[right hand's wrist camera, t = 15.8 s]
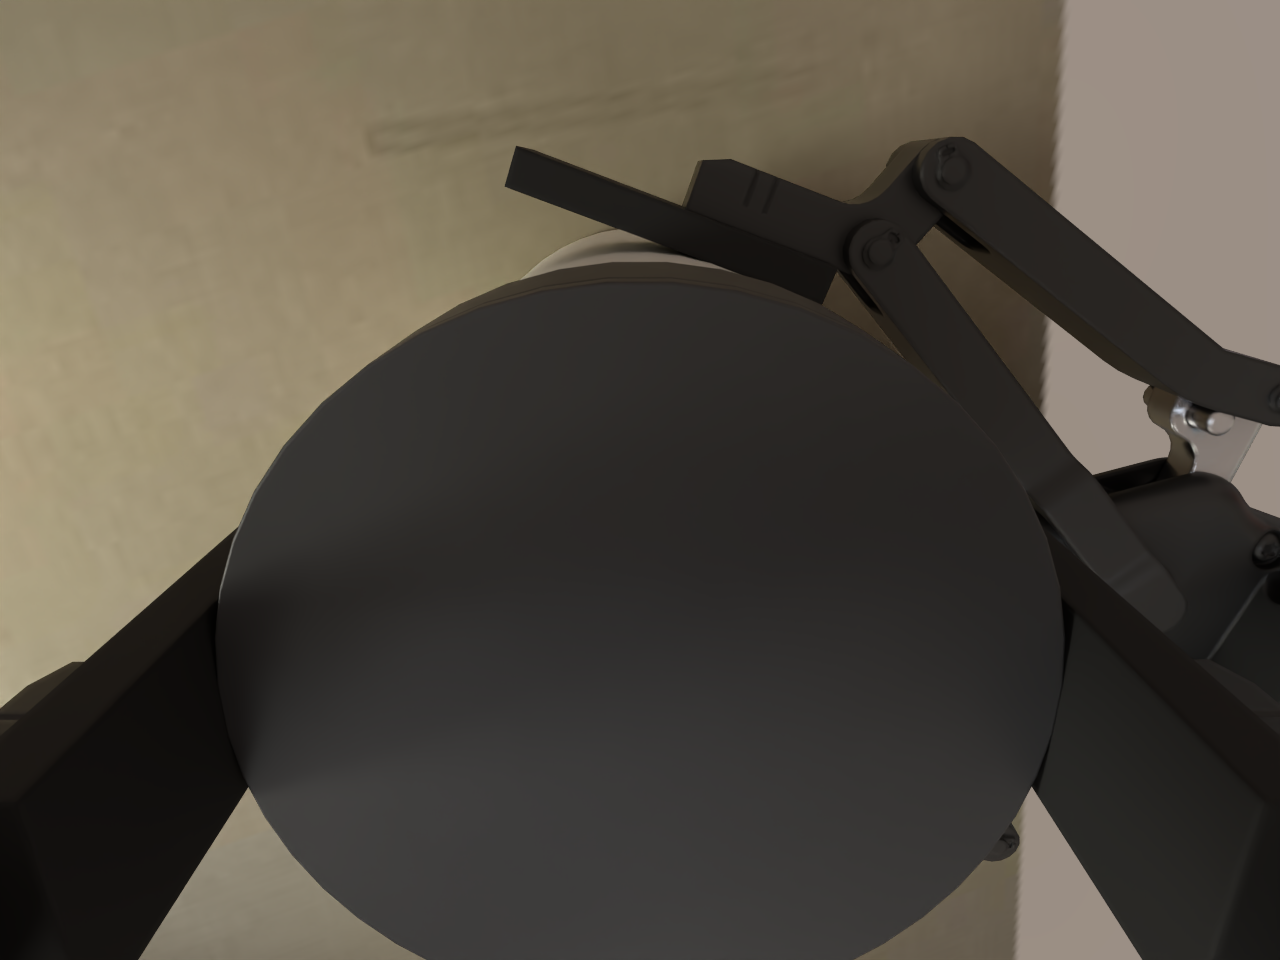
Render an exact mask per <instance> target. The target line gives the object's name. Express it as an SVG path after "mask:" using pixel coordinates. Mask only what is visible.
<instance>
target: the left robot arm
mask: <svg viewBox="0 0 1280 960" xmlns="http://www.w3.org/2000/svg"><path fill="white" fill-rule="evenodd" d="M505 187H507V188H510V189H513V190H515V191H518V192H521V193H523V194H526V195H529V196H531V197H534V198H537V199H539V200H542V201H545V202H547V203H550V204H553V205H556V206H558V207H561V208H564V209H566V210H569V211H572V212H574V213H577V214H580V215H582V216H585V217H588V218H590V219H593V220H596V221H598V222H601V223H604V224H606V225H609V226H612V227H615V228H617V229H620V230H623V231H625V232H628V233H631V234H633V235H636V236H639V237H641V238H644V239H647V240H649V241H652V242H655V243H657V244H660V245H663V246H666V247H668V248H671V249H674V250H676V251H679V252H682V253H684V254H687V255H690V256H692V257H695V258H698V259H700V260H703V261H706V262H708V263H711V264H714V265H717V266H719V267H722V268H725V269H727V270H730V271H733V272H735V273H738V274H741V275H744V276H747V277H751V278H754V279H758V280H762V281H765V282H769V283H772V284H775V285H777V286H779V287H782V288H784V289H786V290H788V291H791V292H793V293H795V294H798V295H800V296H802V297H805V298H807V299H809V300H812V301H814V302H816V303H819V304H821V305H822V303H823V301H824V299H825V296H826V294H827V292H828V289H829V287H830V285H831V283H832V280H833V278H834V276H835V273H836V271H837V272H838V274H839V275H840V276H841V277H842V279H843V280H844V281H845V283H846V284H847V285H848V286H849V288H850V289H851V290H852V291H853V293H854V294H855V295H856V297H857V298H858V299H859V300H860V302H861V303H862V304H863V305H864V307H865V308H866V309H867V311H868V312H869V313H870V314H871V316H872V317H873V318H874V319H875V321H876V322H877V323H878V325H879V326H880V327H881V328H882V330H883V331H884V332H885V333H886V335H887V336H888V337H889V339H890V340H891V341H892V342H893V344H894V345H895V346H896V347H897V349H898V350H899V351H900V353H901V354H902V355H903V356H904V358H905V359H906V360H907V361H908V362H909V363H911V364H912V365H913V366H914V367H916V368H917V369H918V370H919V371H920V372H922V373H923V374H924V375H925V376H927V377H928V378H929V379H930V380H931V381H933V382H934V383H935V384H936V385H937V386H939V387H940V388H941V389H942V390H943V391H945V392H946V393H947V394H948V395H949V396H951V397H952V398H953V399H954V400H955V401H957V402H958V403H959V404H960V405H961V407H962V408H963V409H964V410H965V411H966V412H967V413H968V414H969V415H970V417H971V418H972V419H973V420H974V421H975V422H976V423H977V424H978V426H979V427H980V428H981V429H982V430H983V431H984V432H985V433H986V435H987V436H988V437H989V438H990V439H991V440H992V441H993V442H994V443H995V445H996V446H997V448H998V449H999V451H1000V452H1001V454H1002V455H1003V457H1004V458H1005V460H1006V461H1007V463H1008V464H1009V466H1010V468H1011V469H1012V471H1013V472H1014V474H1015V475H1016V477H1017V478H1018V480H1019V481H1020V483H1021V484H1022V486H1023V488H1024V489H1025V491H1026V493H1027V495H1028V497H1029V499H1030V502H1031V504H1032V506H1033V508H1034V511H1035V513H1036V515H1037V517H1038V520H1039V522H1040V524H1041V526H1042V527H1043V528H1044V529H1045V530H1047V531H1048V532H1049V533H1050V534H1051V535H1052V536H1053V537H1054V538H1056V539H1057V540H1058V541H1059V542H1060V543H1061V544H1062V545H1064V546H1065V547H1066V548H1067V549H1068V550H1069V551H1070V552H1072V553H1073V554H1074V555H1075V556H1076V557H1077V558H1078V559H1080V560H1081V561H1082V562H1083V563H1084V564H1085V565H1086V566H1088V567H1089V568H1090V569H1091V570H1092V571H1093V572H1094V573H1095V574H1097V575H1098V576H1099V577H1100V578H1101V579H1102V580H1103V581H1105V582H1106V583H1107V584H1108V585H1109V586H1110V587H1111V588H1113V589H1114V590H1115V591H1116V592H1117V593H1118V594H1119V595H1121V596H1122V597H1123V598H1124V599H1125V600H1126V601H1127V602H1128V603H1130V604H1131V605H1132V606H1133V607H1134V608H1135V609H1136V610H1138V611H1139V612H1140V613H1141V614H1142V615H1143V616H1144V617H1146V618H1147V619H1148V620H1149V621H1150V622H1151V623H1152V624H1154V625H1155V626H1156V627H1157V628H1158V629H1159V630H1160V631H1161V632H1163V633H1164V634H1165V635H1166V636H1167V637H1168V638H1169V639H1171V640H1172V641H1173V642H1174V643H1175V644H1176V645H1177V646H1179V647H1180V648H1181V649H1182V650H1183V651H1184V652H1185V653H1187V654H1188V655H1189V656H1190V657H1191V658H1192V659H1210V660H1211V661H1213V662H1215V663H1217V664H1219V665H1221V666H1223V667H1225V668H1227V669H1228V670H1230V671H1232V672H1234V673H1236V674H1238V675H1240V676H1242V677H1244V678H1246V679H1247V680H1249V681H1251V682H1253V683H1255V684H1256V685H1257V686H1258V687H1260V688H1261V689H1262V690H1263V691H1264V692H1266V693H1267V694H1268V695H1269V696H1270V697H1272V698H1273V699H1274V700H1275V701H1276V702H1278V703H1279V704H1280V518H1278V517H1275V516H1273V515H1270V514H1267V513H1264V512H1262V511H1259V510H1256V509H1253V508H1251V507H1249V506H1248V504H1247V503H1246V502H1245V500H1244V499H1243V497H1242V495H1241V494H1240V492H1239V491H1238V489H1237V488H1236V487H1235V486H1234V485H1233V484H1231V481H1232V479H1233V477H1234V475H1235V473H1236V472H1237V470H1238V468H1239V466H1240V464H1241V462H1242V461H1243V459H1244V457H1245V455H1246V453H1247V451H1248V450H1249V448H1250V446H1251V444H1252V442H1253V440H1254V439H1255V437H1256V435H1257V433H1258V431H1259V429H1260V428H1261V426H1262V424H1265V425H1268V426H1280V365H1277V364H1274V363H1271V362H1267V361H1264V360H1260V359H1257V358H1254V357H1250V356H1247V355H1243V354H1240V353H1237V352H1234V351H1230V350H1227V349H1224V348H1222V347H1221V346H1220V345H1218V344H1217V343H1216V342H1215V341H1214V340H1212V339H1211V338H1210V337H1209V336H1208V335H1206V334H1205V333H1204V332H1203V331H1202V330H1200V329H1199V328H1198V327H1197V326H1195V325H1194V324H1193V323H1192V322H1191V321H1189V320H1188V319H1187V318H1186V317H1185V316H1183V315H1182V314H1181V313H1180V312H1179V311H1177V310H1176V309H1175V308H1174V307H1172V306H1171V305H1170V304H1169V303H1168V302H1166V301H1165V300H1164V299H1163V298H1162V297H1160V296H1159V295H1158V294H1157V293H1156V292H1154V291H1153V290H1152V289H1151V288H1150V287H1148V286H1147V285H1146V284H1145V283H1143V282H1142V281H1141V280H1140V279H1139V278H1137V277H1136V276H1135V275H1134V274H1133V273H1131V272H1130V271H1129V270H1128V269H1127V268H1125V267H1124V266H1123V265H1122V264H1121V263H1119V262H1118V261H1117V260H1116V259H1115V258H1113V257H1112V256H1111V255H1110V254H1108V253H1107V252H1106V251H1105V250H1104V249H1102V248H1101V247H1100V246H1099V245H1098V244H1096V243H1095V242H1094V241H1093V240H1091V239H1090V238H1089V237H1088V236H1087V235H1086V234H1084V233H1083V232H1082V231H1081V230H1079V229H1078V228H1077V227H1076V226H1075V225H1073V224H1072V223H1071V222H1070V221H1069V220H1067V219H1066V218H1065V217H1064V216H1063V215H1061V214H1060V213H1059V212H1058V211H1057V210H1055V209H1054V208H1053V207H1052V206H1050V205H1049V204H1048V203H1047V202H1046V201H1044V200H1043V199H1042V198H1041V197H1040V196H1038V195H1037V194H1036V193H1035V192H1034V191H1032V190H1031V189H1030V188H1029V187H1028V186H1026V185H1025V184H1024V183H1023V182H1021V181H1020V180H1019V179H1018V178H1017V177H1015V176H1014V175H1013V174H1012V173H1011V172H1009V171H1008V170H1007V169H1006V168H1005V167H1003V166H1002V165H1001V164H1000V163H999V162H997V161H996V160H995V159H994V158H992V157H991V156H990V155H989V154H988V153H986V152H985V151H984V150H983V149H982V148H980V147H979V146H978V145H977V144H976V143H974V142H972V141H970V140H968V139H966V138H964V137H946V138H938V139H929V140H921V141H912V142H909V143H906V144H904V145H902V146H900V147H899V148H898V149H897V150H896V151H895V152H893V153H892V155H891V157H890V159H889V161H888V163H887V165H886V168H885V170H884V171H883V172H882V173H881V174H880V175H879V176H878V178H877V179H876V180H875V181H874V182H873V183H872V184H871V186H870V187H869V188H868V189H867V190H866V191H865V192H863V193H862V194H861V195H860V196H858V197H856V198H854V199H852V200H848V201H845V202H839V201H837V200H834V199H832V198H829V197H827V196H824V195H822V194H819V193H816V192H814V191H811V190H809V189H806V188H804V187H801V186H798V185H796V184H793V183H791V182H788V181H786V180H783V179H780V178H778V177H775V176H773V175H770V174H768V173H765V172H763V171H760V170H757V169H755V168H752V167H750V166H747V165H745V164H742V163H739V162H737V161H734V160H732V159H722V160H702V161H698V163H697V166H696V169H695V171H694V174H693V177H692V180H691V183H690V185H689V188H688V191H687V194H686V197H685V199H684V202H683V205H682V206H680V205H677V204H675V203H672V202H670V201H667V200H664V199H662V198H659V197H656V196H654V195H651V194H649V193H646V192H643V191H641V190H638V189H635V188H633V187H630V186H627V185H625V184H622V183H620V182H617V181H614V180H612V179H609V178H606V177H604V176H601V175H599V174H596V173H593V172H591V171H588V170H585V169H583V168H580V167H577V166H575V165H572V164H570V163H567V162H564V161H562V160H559V159H556V158H554V157H551V156H548V155H546V154H543V153H541V152H538V151H535V150H532V149H528V148H523V147H519V146H516V148H515V152H514V155H513V159H512V162H511V166H510V169H509V173H508V176H507V180H506V183H505ZM933 226H934V227H935V228H936V229H938V230H939V231H940V232H941V233H943V234H944V235H945V236H946V237H948V238H949V239H950V240H952V241H953V242H954V243H955V244H957V245H958V246H959V247H960V248H962V249H963V250H964V251H965V252H967V253H968V254H969V255H971V256H972V257H973V258H974V259H976V260H977V261H978V262H979V263H981V264H982V265H983V266H984V267H986V268H987V269H988V270H990V271H991V272H992V273H993V274H995V275H996V276H997V277H998V278H1000V279H1001V280H1002V281H1003V282H1005V283H1006V284H1007V285H1008V286H1010V287H1011V288H1012V289H1014V290H1015V291H1016V292H1017V293H1019V294H1020V295H1021V296H1022V297H1024V298H1025V299H1026V300H1027V301H1029V302H1030V303H1031V304H1033V305H1034V306H1035V307H1036V308H1038V309H1039V310H1040V311H1041V312H1043V313H1044V314H1045V315H1046V316H1048V317H1049V318H1050V319H1052V320H1053V321H1054V322H1055V323H1057V324H1058V325H1059V326H1060V327H1062V328H1063V329H1064V330H1065V331H1067V332H1068V333H1069V334H1071V335H1072V336H1073V337H1074V338H1076V339H1077V340H1078V341H1079V342H1081V343H1082V344H1083V345H1084V346H1086V347H1087V348H1088V349H1090V350H1091V351H1092V352H1093V353H1095V354H1096V355H1097V356H1098V357H1100V358H1101V359H1102V360H1103V361H1105V362H1106V363H1108V364H1109V365H1111V366H1112V367H1114V368H1115V369H1117V370H1118V371H1120V372H1122V373H1124V374H1126V375H1128V376H1130V377H1132V378H1134V379H1137V380H1139V381H1142V382H1144V383H1146V384H1149V385H1150V386H1149V387H1148V388H1147V389H1146V390H1145V392H1144V395H1143V399H1144V403H1145V404H1146V405H1147V412H1148V415H1149V418H1150V419H1151V420H1152V422H1153V423H1155V424H1156V425H1158V426H1159V427H1161V428H1162V429H1164V430H1165V431H1166V432H1167V434H1168V435H1169V438H1170V441H1171V449H1170V452H1169V455H1168V457H1165V458H1157V459H1153V460H1149V461H1145V462H1141V463H1137V464H1133V465H1129V466H1126V467H1122V468H1118V469H1114V470H1110V471H1106V472H1103V473H1099V474H1095V475H1092V474H1091V473H1090V472H1089V471H1088V470H1087V469H1086V468H1085V467H1084V466H1083V465H1082V464H1081V463H1080V462H1079V461H1078V460H1077V459H1076V458H1075V457H1074V456H1073V455H1072V454H1071V453H1070V451H1069V450H1068V449H1067V447H1066V446H1065V445H1064V443H1063V442H1062V441H1061V439H1060V438H1059V437H1058V435H1057V434H1056V433H1055V431H1054V430H1053V429H1052V427H1051V426H1050V425H1049V423H1048V422H1047V420H1046V419H1045V418H1044V416H1043V415H1042V414H1041V412H1040V411H1039V410H1038V408H1037V407H1036V406H1035V404H1034V403H1033V402H1032V400H1031V399H1030V398H1029V396H1028V395H1027V394H1026V392H1025V391H1024V390H1023V388H1022V387H1021V386H1020V384H1019V383H1018V381H1017V380H1016V379H1015V377H1014V376H1013V375H1012V373H1011V372H1010V371H1009V369H1008V368H1007V367H1006V365H1005V364H1004V363H1003V361H1002V360H1001V359H1000V357H999V356H998V355H997V353H996V352H995V351H994V349H993V348H992V347H991V345H990V344H989V343H988V341H987V340H986V339H985V337H984V336H983V335H982V333H981V332H980V330H979V329H978V328H977V326H976V325H975V324H974V322H973V321H972V320H971V318H970V317H969V316H968V314H967V313H966V312H965V310H964V309H963V308H962V306H961V305H960V304H959V302H958V301H957V300H956V298H955V297H954V296H953V294H952V293H951V292H950V290H949V289H948V288H947V286H946V285H945V283H944V282H943V281H942V279H941V278H940V277H939V275H938V274H937V273H936V271H935V270H934V269H933V267H932V266H931V265H930V263H929V262H928V261H927V259H926V258H925V257H924V255H923V254H922V253H921V251H920V250H919V249H918V247H917V246H916V245H917V243H918V242H919V241H920V240H921V239H922V238H923V237H924V236H925V235H926V234H927V233H928V231H929V230H930V229H931V228H932V227H933ZM1018 846H1019V835H1018V834H1017V832H1016V830H1015V828H1014V827H1013V825H1012V823H1010V825H1009V826H1008V828H1007V829H1006V830H1005V832H1004V833H1003V835H1002V836H1001V837H1000V839H999V840H998V842H997V843H996V844H995V846H994V847H993V849H992V850H991V851H990V853H989V854H988V855H987V856H986V857H985V858H984V860H987V861H999V860H1003V859H1005V858H1007V857H1009V856H1011V855H1012V854H1013V853H1014V852H1015V851H1016V850H1017V848H1018Z"/></svg>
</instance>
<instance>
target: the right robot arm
mask: <svg viewBox="0 0 1280 960" xmlns="http://www.w3.org/2000/svg"><path fill="white" fill-rule="evenodd" d="M237 529H238V527H237V528H236V529H235V530H234V531H233V532H232V533H231V534H229V535H228V536H227V537H226V538H225V539H224V540H223V541H221V542H220V543H219V544H218V545H217V546H216V547H215V548H214V549H212V550H211V551H210V552H209V553H208V554H207V555H206V556H204V557H203V558H202V559H201V560H200V561H199V562H198V563H196V564H195V565H194V566H193V567H192V568H191V569H190V570H188V571H187V572H186V573H185V574H184V575H183V576H182V577H181V578H179V579H178V580H177V581H176V582H175V583H174V584H173V585H171V586H170V587H169V588H168V589H167V590H166V591H165V592H163V593H162V594H161V595H160V596H159V597H158V598H157V599H155V600H154V601H153V602H152V603H151V604H150V605H149V606H148V607H146V608H145V609H144V610H143V611H142V612H141V613H140V614H138V615H137V616H136V617H135V618H134V619H133V620H132V621H130V622H129V623H128V624H127V625H126V626H125V627H124V628H122V629H121V630H120V631H119V632H118V633H117V634H116V635H115V636H113V637H112V638H111V639H110V640H109V641H108V642H107V643H105V644H104V645H103V646H102V647H101V648H100V649H99V650H97V651H96V652H95V653H94V654H93V655H92V656H91V657H89V658H88V659H87V660H86V661H85V662H71V663H70V664H68V665H66V666H64V667H62V668H60V669H58V670H56V671H55V672H53V673H51V674H49V675H47V676H45V677H43V678H41V679H39V680H38V681H36V682H34V683H32V684H30V685H28V686H27V687H25V688H24V689H23V690H22V691H21V692H19V693H18V694H17V695H16V696H15V697H13V698H12V699H11V700H10V701H9V702H7V703H6V704H5V705H4V706H3V707H1V708H0V960H138V959H139V957H140V956H141V954H142V953H143V951H144V950H145V948H146V947H147V945H148V943H149V942H150V940H151V939H152V937H153V936H154V934H155V932H156V931H157V929H158V928H159V926H160V925H161V923H162V921H163V920H164V918H165V917H166V915H167V914H168V912H169V911H170V909H171V907H172V906H173V904H174V903H175V901H176V900H177V898H178V896H179V895H180V893H181V892H182V890H183V889H184V887H185V885H186V884H187V882H188V881H189V879H190V878H191V876H192V874H193V873H194V871H195V870H196V868H197V867H198V865H199V864H200V862H201V860H202V859H203V857H204V856H205V854H206V853H207V851H208V849H209V848H210V846H211V845H212V843H213V842H214V840H215V838H216V837H217V835H218V834H219V832H220V831H221V829H222V828H223V826H224V824H225V823H226V821H227V820H228V818H229V817H230V815H231V813H232V812H233V810H234V809H235V807H236V806H237V804H238V802H239V801H240V799H241V798H242V796H243V795H244V793H245V791H246V790H247V788H248V785H247V783H246V781H245V779H244V777H243V775H242V772H241V770H240V767H239V764H238V761H237V759H236V756H235V753H234V751H233V748H232V745H231V742H230V740H229V737H228V733H227V728H226V724H225V719H224V714H223V709H222V704H221V700H220V695H219V690H218V685H217V672H216V654H215V630H216V621H217V611H218V601H219V591H220V586H221V582H222V578H223V574H224V571H225V567H226V563H227V559H228V556H229V552H230V548H231V544H232V540H233V538H234V536H235V533H236V531H237ZM1042 529H1043V531H1044V533H1045V535H1046V538H1047V541H1048V544H1049V548H1050V552H1051V556H1052V559H1053V563H1054V567H1055V571H1056V574H1057V578H1058V582H1059V585H1060V592H1061V601H1062V611H1063V621H1064V630H1065V653H1064V672H1063V686H1062V691H1061V696H1060V701H1059V706H1058V710H1057V715H1056V720H1055V725H1054V730H1053V734H1052V737H1051V739H1050V742H1049V745H1048V748H1047V750H1046V753H1045V756H1044V759H1043V761H1042V764H1041V767H1040V770H1039V772H1038V775H1037V777H1036V779H1035V781H1034V783H1033V785H1032V788H1033V789H1034V791H1035V792H1036V794H1037V795H1038V797H1039V798H1040V800H1041V802H1042V803H1043V805H1044V806H1045V808H1046V809H1047V811H1048V813H1049V814H1050V816H1051V817H1052V819H1053V820H1054V822H1055V824H1056V825H1057V827H1058V828H1059V830H1060V831H1061V833H1062V835H1063V836H1064V838H1065V839H1066V841H1067V842H1068V844H1069V846H1070V847H1071V849H1072V850H1073V852H1074V853H1075V855H1076V856H1077V858H1078V860H1079V861H1080V863H1081V864H1082V866H1083V867H1084V869H1085V871H1086V872H1087V874H1088V875H1089V877H1090V878H1091V880H1092V881H1093V883H1094V885H1095V886H1096V888H1097V889H1098V891H1099V892H1100V894H1101V896H1102V897H1103V899H1104V900H1105V902H1106V903H1107V905H1108V907H1109V908H1110V910H1111V911H1112V913H1113V914H1114V916H1115V918H1116V919H1117V921H1118V922H1119V924H1120V925H1121V927H1122V928H1123V930H1124V932H1125V933H1126V935H1127V936H1128V938H1129V939H1130V941H1131V943H1132V944H1133V946H1134V947H1135V949H1136V950H1137V952H1138V954H1139V955H1140V957H1141V958H1142V960H1280V704H1279V703H1278V702H1276V701H1275V700H1274V699H1273V698H1272V697H1270V696H1269V695H1268V694H1267V693H1266V692H1264V691H1263V690H1262V689H1261V688H1260V687H1258V686H1257V685H1256V684H1255V683H1253V682H1251V681H1249V680H1247V679H1246V678H1244V677H1242V676H1240V675H1238V674H1236V673H1234V672H1232V671H1230V670H1228V669H1227V668H1225V667H1223V666H1221V665H1219V664H1217V663H1215V662H1213V661H1211V660H1210V659H1192V658H1191V657H1190V656H1189V655H1188V654H1187V653H1185V652H1184V651H1183V650H1182V649H1181V648H1180V647H1179V646H1177V645H1176V644H1175V643H1174V642H1173V641H1172V640H1171V639H1169V638H1168V637H1167V636H1166V635H1165V634H1164V633H1163V632H1161V631H1160V630H1159V629H1158V628H1157V627H1156V626H1155V625H1154V624H1152V623H1151V622H1150V621H1149V620H1148V619H1147V618H1146V617H1144V616H1143V615H1142V614H1141V613H1140V612H1139V611H1138V610H1136V609H1135V608H1134V607H1133V606H1132V605H1131V604H1130V603H1128V602H1127V601H1126V600H1125V599H1124V598H1123V597H1122V596H1121V595H1119V594H1118V593H1117V592H1116V591H1115V590H1114V589H1113V588H1111V587H1110V586H1109V585H1108V584H1107V583H1106V582H1105V581H1103V580H1102V579H1101V578H1100V577H1099V576H1098V575H1097V574H1095V573H1094V572H1093V571H1092V570H1091V569H1090V568H1089V567H1088V566H1086V565H1085V564H1084V563H1083V562H1082V561H1081V560H1080V559H1078V558H1077V557H1076V556H1075V555H1074V554H1073V553H1072V552H1070V551H1069V550H1068V549H1067V548H1066V547H1065V546H1064V545H1062V544H1061V543H1060V542H1059V541H1058V540H1057V539H1056V538H1054V537H1053V536H1052V535H1051V534H1050V533H1049V532H1048V531H1047V530H1045V529H1044V528H1043V527H1042Z"/></svg>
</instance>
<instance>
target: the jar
mask: <svg viewBox="0 0 1280 960" xmlns="http://www.w3.org/2000/svg"><path fill="white" fill-rule="evenodd" d="M608 262H672V263H679V264H686V265H694V266H701V267H709V268H716V269H722V270H725V271H729V272H733V271H730V270H727V269H725V268H722V267H719V266H717V265H714V264H711V263H708V262H706V261H703V260H700V259H698V258H695V257H692V256H690V255H687V254H684V253H682V252H679V251H676V250H674V249H671V248H668V247H666V246H663V245H660V244H657V243H655V242H652V241H649V240H647V239H644V238H641V237H639V236H636V235H633V234H631V233H628V232H625V231H623V230H620V229H617V230H611V231H605V232H600V233H597V234H594V235H591V236H588V237H585V238H581V239H579V240H577V241H575V242H573V243H571V244H568V245H566V246H564V247H562V248H560V249H559V250H557V251H556V252H554V253H553V254H551V255H549V256H548V257H546V258H545V259H543V260H542V261H541V262H540V263H539V264H537V265H536V266H535V267H534V268H533V269H532V270H531V271H529V272H528V273H527V274H526V275H525V276H524V277H523V278H521V279H520V280H522V279H526V278H529V277H533V276H536V275H540V274H544V273H547V272H551V271H554V270H558V269H564V268H572V267H579V266H586V265H594V264H601V263H608ZM733 273H735V272H733ZM736 274H738V273H736ZM740 275H741V274H740Z"/></svg>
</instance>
